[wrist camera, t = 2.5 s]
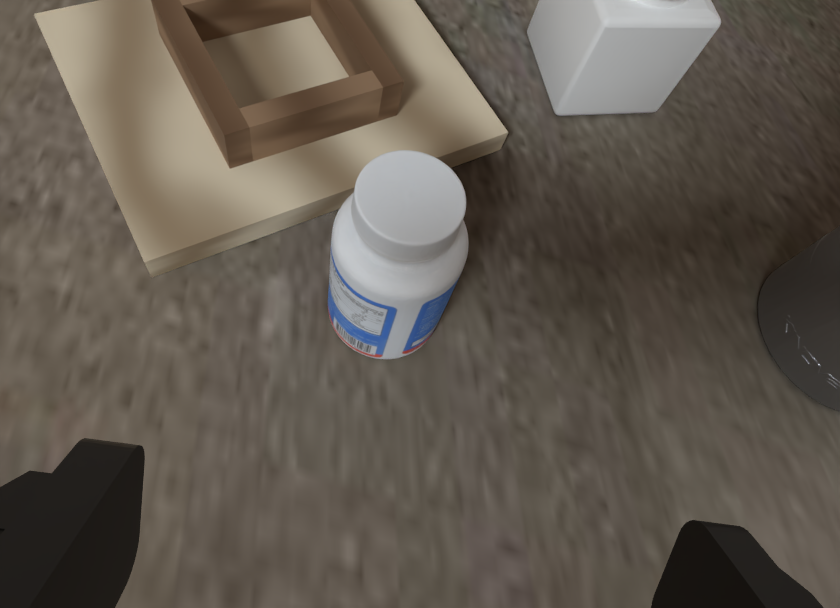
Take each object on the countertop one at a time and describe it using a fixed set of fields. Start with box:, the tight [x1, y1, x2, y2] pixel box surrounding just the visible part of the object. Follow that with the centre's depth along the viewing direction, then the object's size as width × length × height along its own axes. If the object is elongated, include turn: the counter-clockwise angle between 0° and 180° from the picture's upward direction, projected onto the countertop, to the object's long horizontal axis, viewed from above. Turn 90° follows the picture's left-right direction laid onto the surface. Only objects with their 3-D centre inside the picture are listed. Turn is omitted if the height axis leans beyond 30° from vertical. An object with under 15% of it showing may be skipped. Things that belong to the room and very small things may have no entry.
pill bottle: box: [328, 150, 469, 359], centre depth 26 cm, size 6×5×10 cm
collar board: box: [34, 0, 508, 278], centre depth 33 cm, size 20×16×4 cm
